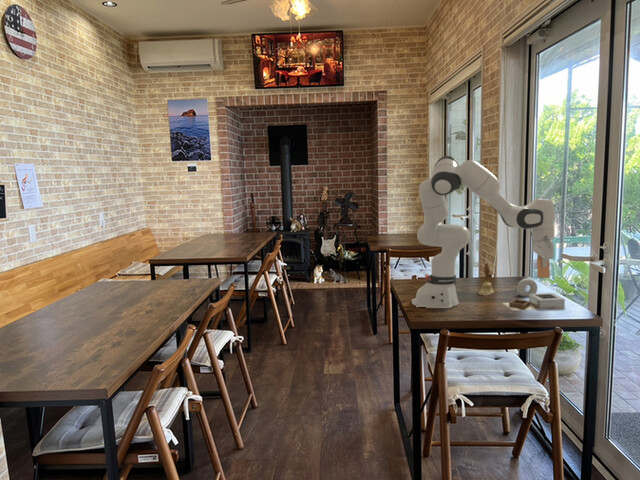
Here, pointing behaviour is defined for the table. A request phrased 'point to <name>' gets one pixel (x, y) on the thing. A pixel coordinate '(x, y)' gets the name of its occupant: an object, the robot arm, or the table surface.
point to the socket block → (546, 300)
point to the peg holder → (519, 304)
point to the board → (525, 308)
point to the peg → (542, 269)
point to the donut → (523, 283)
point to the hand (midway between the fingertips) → (542, 265)
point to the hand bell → (486, 283)
